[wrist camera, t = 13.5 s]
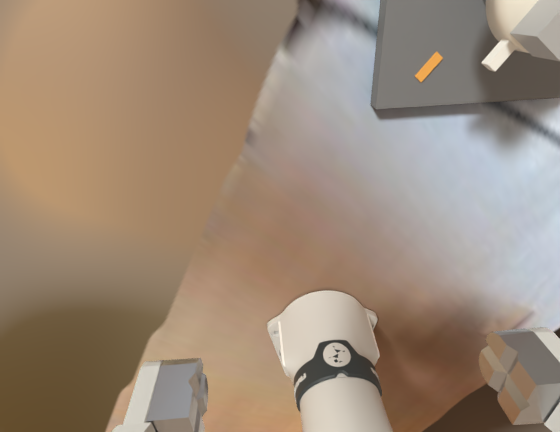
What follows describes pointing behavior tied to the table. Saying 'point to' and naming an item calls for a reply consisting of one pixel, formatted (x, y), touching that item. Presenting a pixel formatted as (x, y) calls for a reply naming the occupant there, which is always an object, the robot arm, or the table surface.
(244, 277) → the table surface
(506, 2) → the cap
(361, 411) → the robot arm
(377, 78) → the lock base
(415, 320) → the table surface
